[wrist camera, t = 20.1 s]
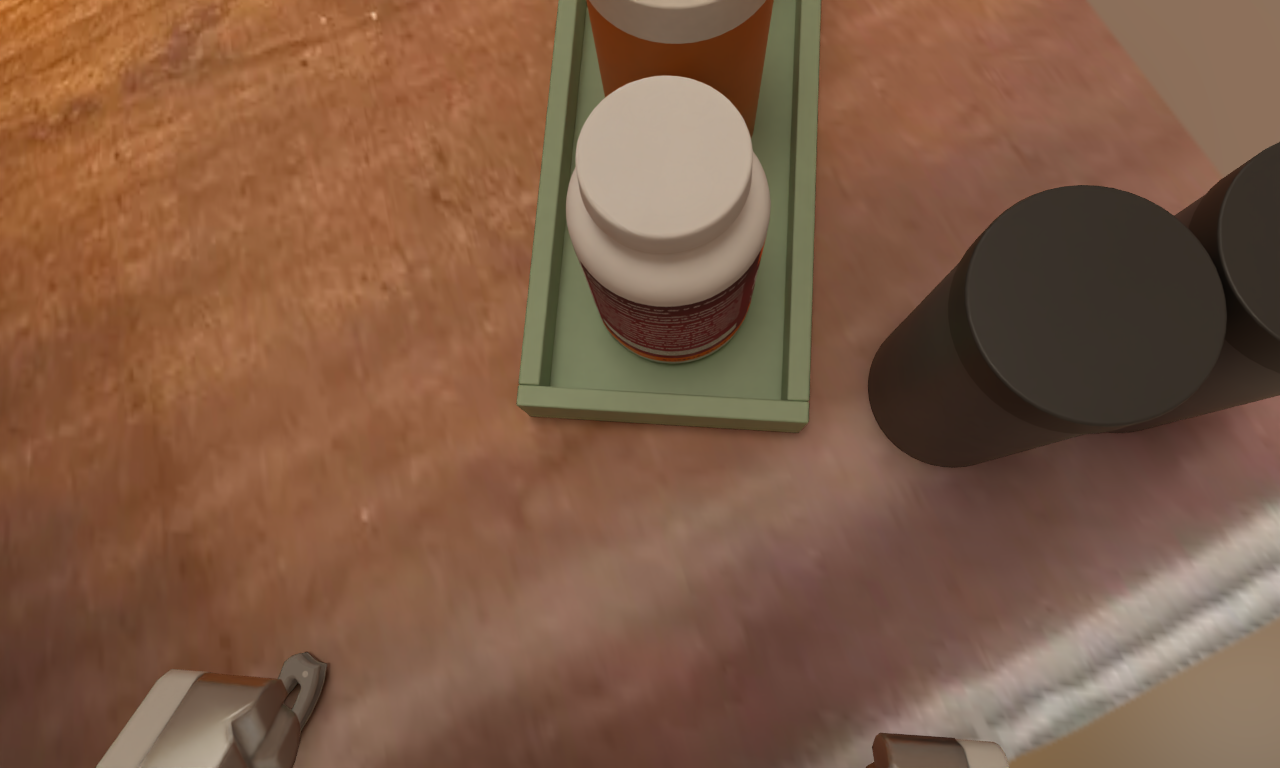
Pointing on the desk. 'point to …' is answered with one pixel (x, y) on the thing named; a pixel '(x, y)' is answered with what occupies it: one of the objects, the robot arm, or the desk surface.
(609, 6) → the bottle
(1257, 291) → the grey canister
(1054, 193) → the grey canister
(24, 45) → the desk surface
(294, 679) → the knife
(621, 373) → the tray
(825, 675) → the desk surface
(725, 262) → the pill bottle
